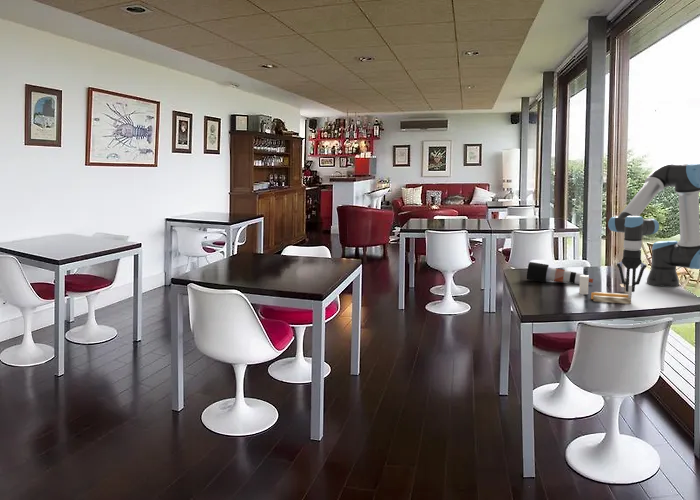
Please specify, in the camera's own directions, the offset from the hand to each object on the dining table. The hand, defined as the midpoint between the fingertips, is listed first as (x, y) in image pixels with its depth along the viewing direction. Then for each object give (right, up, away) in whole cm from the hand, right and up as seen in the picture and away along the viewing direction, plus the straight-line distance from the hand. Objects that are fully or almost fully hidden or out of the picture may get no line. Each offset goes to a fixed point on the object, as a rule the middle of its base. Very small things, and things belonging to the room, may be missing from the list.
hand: (629, 298), depth 273 cm
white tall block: (-14, +1, +18) cm, 23 cm away
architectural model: (+7, +1, +19) cm, 21 cm away
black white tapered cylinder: (-17, +5, +44) cm, 48 cm away
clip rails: (-7, -1, +3) cm, 8 cm away
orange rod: (-8, -1, +4) cm, 9 cm away
